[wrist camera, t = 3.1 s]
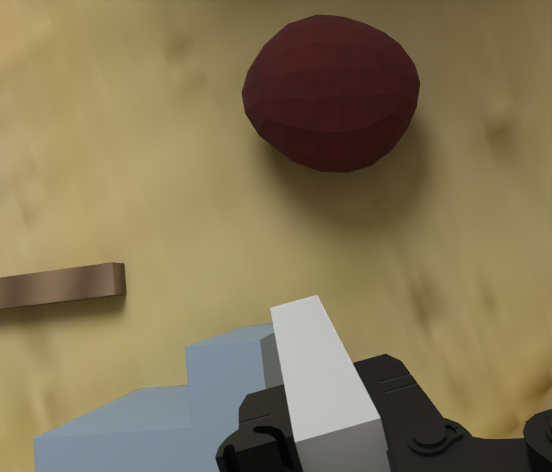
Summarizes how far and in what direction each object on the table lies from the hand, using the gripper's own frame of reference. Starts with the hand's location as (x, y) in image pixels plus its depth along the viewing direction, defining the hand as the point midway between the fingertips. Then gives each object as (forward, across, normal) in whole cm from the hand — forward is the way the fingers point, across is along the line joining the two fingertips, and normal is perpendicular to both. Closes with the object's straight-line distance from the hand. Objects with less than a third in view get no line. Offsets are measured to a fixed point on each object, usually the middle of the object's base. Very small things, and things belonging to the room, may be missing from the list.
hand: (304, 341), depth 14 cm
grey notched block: (+19, -7, -12) cm, 24 cm away
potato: (+24, +7, +6) cm, 25 cm away
